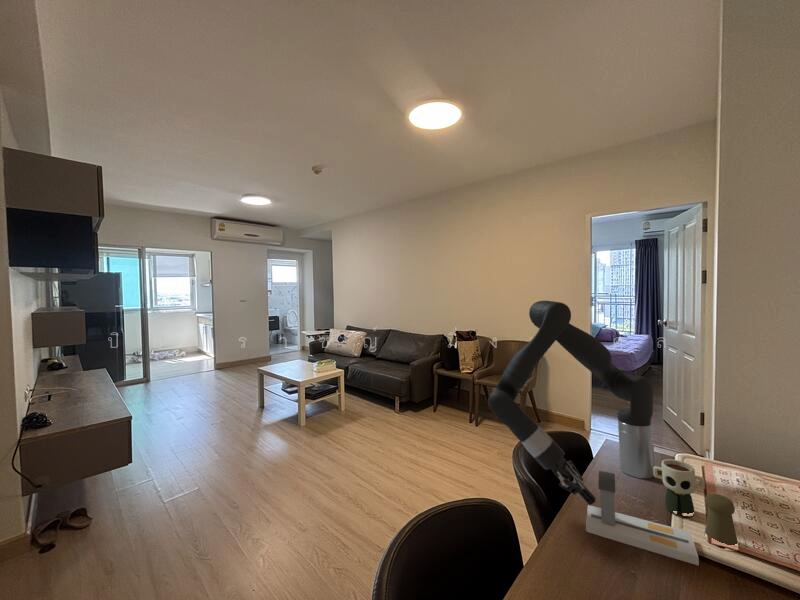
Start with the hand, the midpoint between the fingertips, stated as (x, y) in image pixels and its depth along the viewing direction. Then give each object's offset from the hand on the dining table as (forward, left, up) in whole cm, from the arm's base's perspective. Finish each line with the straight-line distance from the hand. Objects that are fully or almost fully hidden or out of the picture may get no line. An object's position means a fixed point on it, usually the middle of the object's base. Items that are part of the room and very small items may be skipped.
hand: (593, 501), depth 88 cm
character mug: (-26, +5, -6) cm, 27 cm away
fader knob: (-2, +3, -3) cm, 5 cm away
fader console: (-6, +7, -6) cm, 11 cm away
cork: (-23, +16, -6) cm, 28 cm away
